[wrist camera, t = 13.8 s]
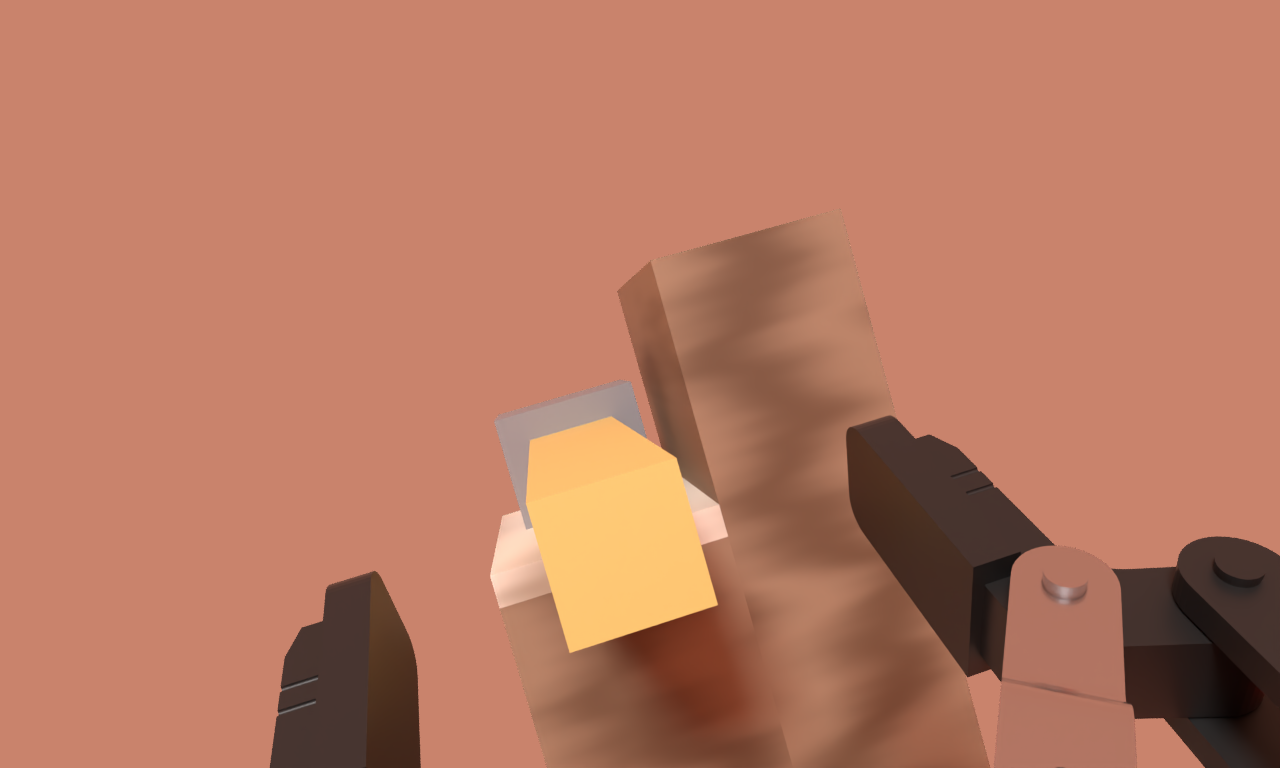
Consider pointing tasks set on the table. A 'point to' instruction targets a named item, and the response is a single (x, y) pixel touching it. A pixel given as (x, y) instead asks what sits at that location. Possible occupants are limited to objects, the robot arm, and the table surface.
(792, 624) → the step stand
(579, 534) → the bar
